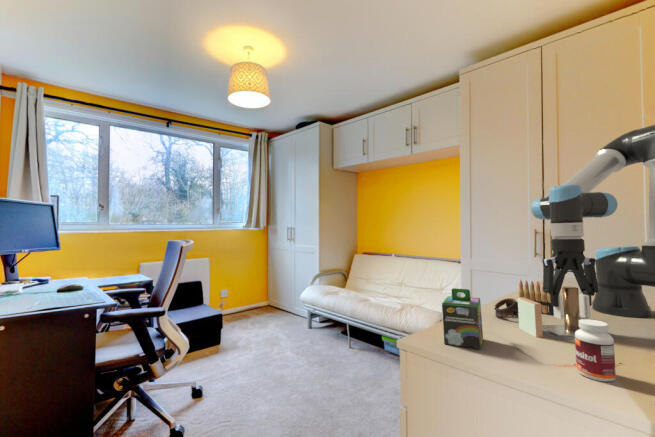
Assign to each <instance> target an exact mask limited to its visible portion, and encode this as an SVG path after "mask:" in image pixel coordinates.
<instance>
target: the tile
mask: <svg viewBox="0 0 655 437" xmlns="http://www.w3.org/2000/svg"><path fill="white" fill-rule="evenodd" d="M517 302H518V314H517V315H518V328H519V329H520V330H522V331H524V332H526V333H527V334H529V335H531V336H533V337H535V338H544V337H543V336H544V334H543V332H542V325H543V318H542V317H543V316H542V315H543V314H541V304H540V303H537V302H535V301H532V300H529V299H526V298H523V297H519V296H518V297H517Z"/></svg>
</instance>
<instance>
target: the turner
mask: <svg viewBox="0 0 655 437" xmlns="http://www.w3.org/2000/svg"><path fill="white" fill-rule="evenodd" d="M561 289H562V301H563V318H564V319H563V321H564V323H563V324H547V325H546V324H545V325H543V324H542V329H543V330H545V331H547V332H549V333H551V334H553V335H555V336H558V337H575V332H576V331H577V330H579V329H580V327H579V320H581V316H580V308H579V294H580V292H579V287H576V286H562V287H561ZM609 333H610V332H608V333H607V334H609ZM609 335H610V334H609Z"/></svg>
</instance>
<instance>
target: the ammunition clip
mask: <svg viewBox="0 0 655 437" xmlns="http://www.w3.org/2000/svg"><path fill="white" fill-rule="evenodd" d="M518 297H523V298H526V299H529V300H532V301H535V302H537V303H540V304H541V314H542V315H547V316H552V317H554V308H553V306H552V305H551V297H550V294H549V293H546V292H543V283H542V284H541V286H540V282H539V280H537V281H536V285H535V284H534V281H533V280H531V281H530V284H529V282H528V280H525V281H524V285H523V281H522V279H519V282H518Z"/></svg>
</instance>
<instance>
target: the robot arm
mask: <svg viewBox="0 0 655 437" xmlns="http://www.w3.org/2000/svg"><path fill="white" fill-rule="evenodd" d="M639 163H642V165H643V166H644V167H646V168H647V169H648V171H649V172H648V174H649V175H648V178H649V179H648V182H649V183H648V235H647V236H648V240H646V241H645V242H643V243H642V244H641V249H640V247H639V246H636V245H635V246H633V245H631V246H619V247H618V246H617V247H603V248H598V249H597V250H596V251H595V258H593V257H586V256H585V255H584V252H585V250H586V247H585V239H583V238H582V237H584V236H585V235H584V234H585V231H584V218H585V219H586V218H596V219H597V218H606V217H610V216H611V215H614V213H615V212H616V210H617V208H618V201H617V199H616V197H615V196H614V195H613V194H611V193H608V192H602V191H597V192H595V191H594V192H593V190H594V189H595V188H597V187H598V186H599V185H600V184H602V182H604V181H605V180H606V179H607V178H608V177H610V176H611V175H612V174H614V173H617V172H619V171H621V170H623V169H624V168H625V167H628V166H631V165H635V164H639ZM530 210H531V214H532V216H534V217H535V219H538V220H548V221H549V220H550V236H551V237H552V239H551V240H550V241H551V242H550V243H551V251H552V253H553V254H552V256H551V257H550V258H542V260H541V262H542V264H543V279H542V280H543V281H542V284H543V292H546V293H547V294H548V293H549V294H550V297H551V305H552V306H553V308H554V316H553V317H555V318H557V319H559V320H564V308H563V295H560V293H561V289H562V287H563V283H564V281H565V277H566V275H567V274H568V272H569V271H570V272H572V274H573V275H574V278H575V280H576V282H577V285H578V288H579V290H580V292H581V293H579V310H580V318H585V319H589V320H591V307H592V309H593V310H595V311H597V312H600V313H602V314H603V313H605V314H609V315H615V316H623V317H632V318H645V317H646V318H647V317H651V316H652V309H651V306H650V305H649V303H648V302H647V298H646V296H645V295H644V292H643V286H645V287H652V288H655V124H652V125H648V126H646V127H641V128H637V129H633V130H630V131H628V132H625V133H624V134H621V135H619V136H617V137H616V138H615V139H613V140H612V141H610V142H608V143H607V144H605V146H603V147H601V148H600V149H599V150H598V151H596V152H595V154H594V155H593V158H592V160H591V161H589V162H588V163H587V164H585V165H584V166H583V167H582V168H581V169H579V171H577V172H576V173H574V174H573V175H572V176H571V177H569V179H567V180H566V181H565V182H564V183H562V184H561V185H556V186H552V187H550V189H549V190H548V196H547V197H541V198H538V199H537V198H536V199H535V200H534V201H533V202H532V203H531V206H530ZM592 296H594V297H593V300H592Z"/></svg>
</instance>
